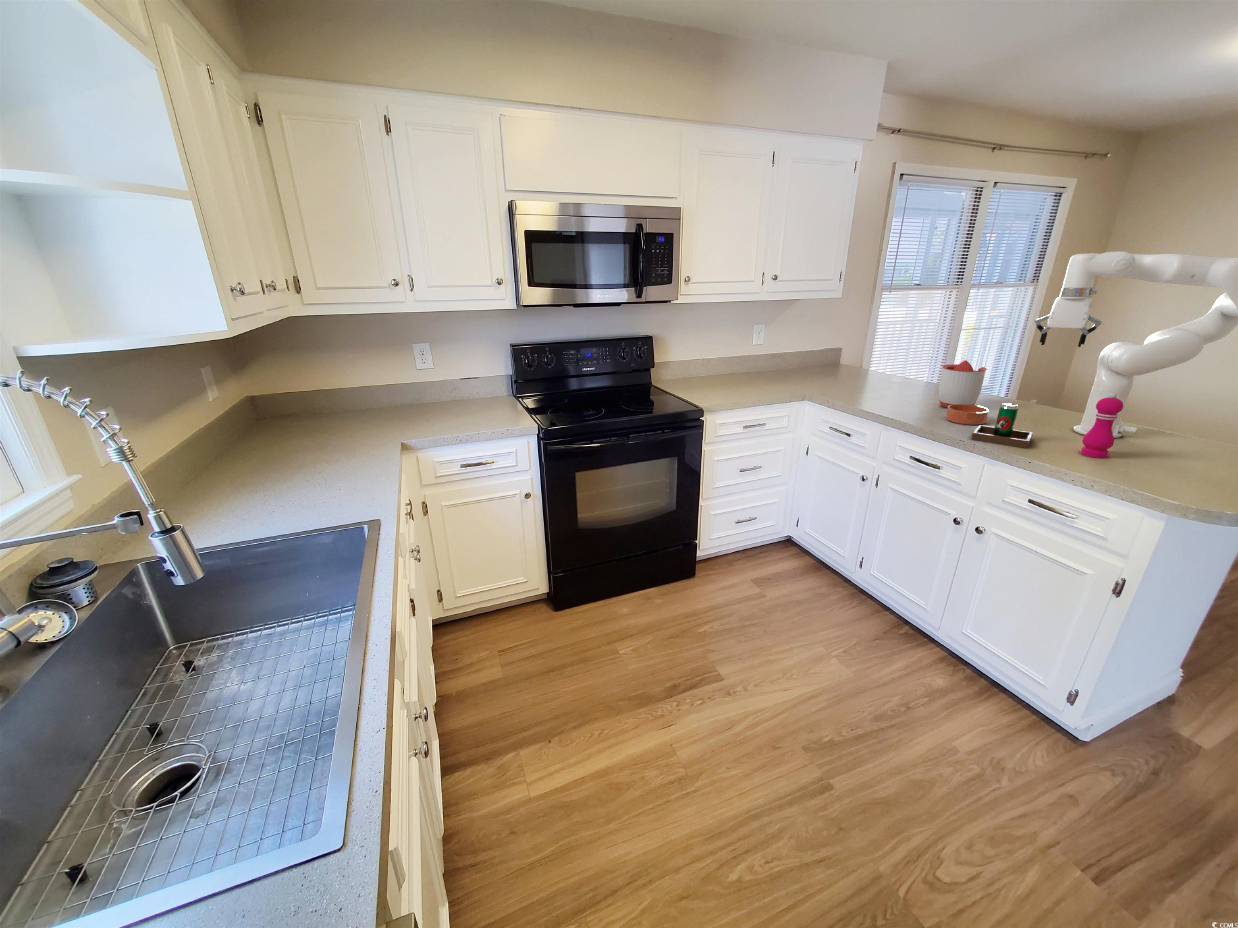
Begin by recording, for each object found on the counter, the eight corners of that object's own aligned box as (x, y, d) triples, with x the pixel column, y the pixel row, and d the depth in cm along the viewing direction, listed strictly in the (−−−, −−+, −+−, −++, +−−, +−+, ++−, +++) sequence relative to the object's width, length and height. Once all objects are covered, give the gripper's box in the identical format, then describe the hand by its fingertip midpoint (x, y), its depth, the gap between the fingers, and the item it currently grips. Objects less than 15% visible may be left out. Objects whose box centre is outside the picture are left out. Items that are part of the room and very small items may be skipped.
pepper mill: (1077, 449, 161) (1097, 389, 154) (1108, 453, 157) (1129, 391, 149) (1078, 455, 156) (1098, 393, 149) (1109, 460, 151) (1131, 396, 144)
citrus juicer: (989, 407, 210) (1000, 360, 202) (960, 413, 204) (971, 364, 197) (953, 400, 223) (963, 355, 216) (926, 405, 217) (935, 359, 210)
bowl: (988, 419, 194) (991, 407, 193) (982, 427, 186) (985, 414, 184) (949, 414, 203) (952, 402, 201) (942, 421, 194) (944, 409, 192)
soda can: (1013, 440, 169) (1022, 406, 165) (996, 440, 170) (1005, 406, 166) (1006, 435, 174) (1014, 402, 170) (989, 435, 175) (997, 402, 171)
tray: (1031, 439, 171) (1033, 432, 170) (1026, 448, 164) (1029, 441, 163) (977, 431, 181) (979, 424, 180) (971, 439, 174) (972, 432, 173)
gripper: (1111, 292, 161) (1094, 346, 167) (1043, 293, 172) (1030, 342, 178) (1110, 294, 156) (1093, 348, 162) (1040, 294, 167) (1027, 345, 173)
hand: (1060, 345), depth 170 cm, fingers open, 9 cm apart
